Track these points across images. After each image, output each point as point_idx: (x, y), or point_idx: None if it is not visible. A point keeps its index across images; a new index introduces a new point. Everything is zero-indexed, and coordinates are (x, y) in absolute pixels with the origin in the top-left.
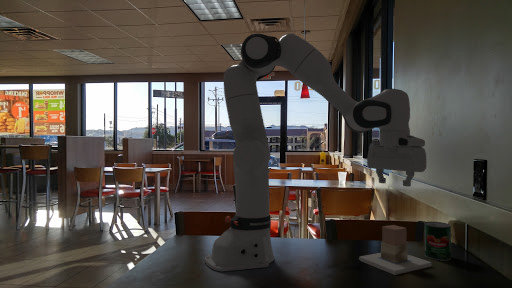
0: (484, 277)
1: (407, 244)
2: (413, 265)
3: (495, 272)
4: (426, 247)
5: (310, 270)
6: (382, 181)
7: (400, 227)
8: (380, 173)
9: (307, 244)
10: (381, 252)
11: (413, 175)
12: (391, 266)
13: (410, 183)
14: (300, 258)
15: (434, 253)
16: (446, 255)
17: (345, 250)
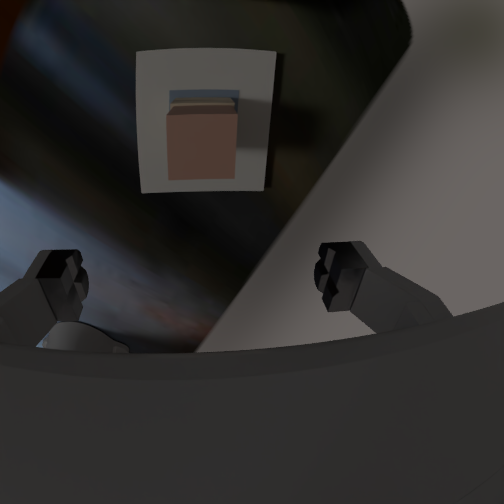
0: (381, 33)
1: (234, 103)
2: (265, 117)
3: None
4: None
5: (161, 306)
6: (84, 292)
7: (217, 127)
8: (15, 331)
9: (8, 228)
10: None
11: (431, 303)
12: (239, 174)
13: (369, 254)
14: (93, 290)
15: None
16: None
17: (62, 169)
